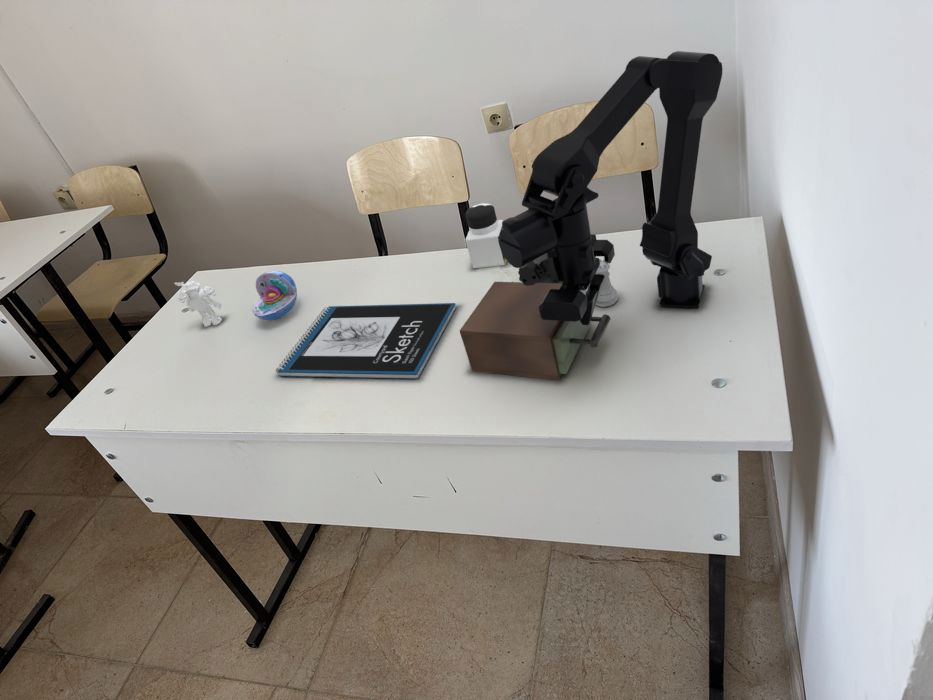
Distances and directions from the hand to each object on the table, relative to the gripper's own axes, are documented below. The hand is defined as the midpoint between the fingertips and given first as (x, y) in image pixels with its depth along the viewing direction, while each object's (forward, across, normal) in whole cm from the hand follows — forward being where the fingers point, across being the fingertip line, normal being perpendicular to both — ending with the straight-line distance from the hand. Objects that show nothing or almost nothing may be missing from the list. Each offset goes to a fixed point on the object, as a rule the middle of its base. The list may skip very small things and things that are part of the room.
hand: (586, 323), depth 105 cm
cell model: (+6, -5, -72) cm, 72 cm away
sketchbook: (+6, +2, -44) cm, 44 cm away
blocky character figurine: (+6, 0, -89) cm, 89 cm away
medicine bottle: (+6, -29, -31) cm, 43 cm away
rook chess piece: (+6, -15, -2) cm, 16 cm away
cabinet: (+6, 0, -11) cm, 12 cm away
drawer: (+5, 0, -7) cm, 8 cm away
